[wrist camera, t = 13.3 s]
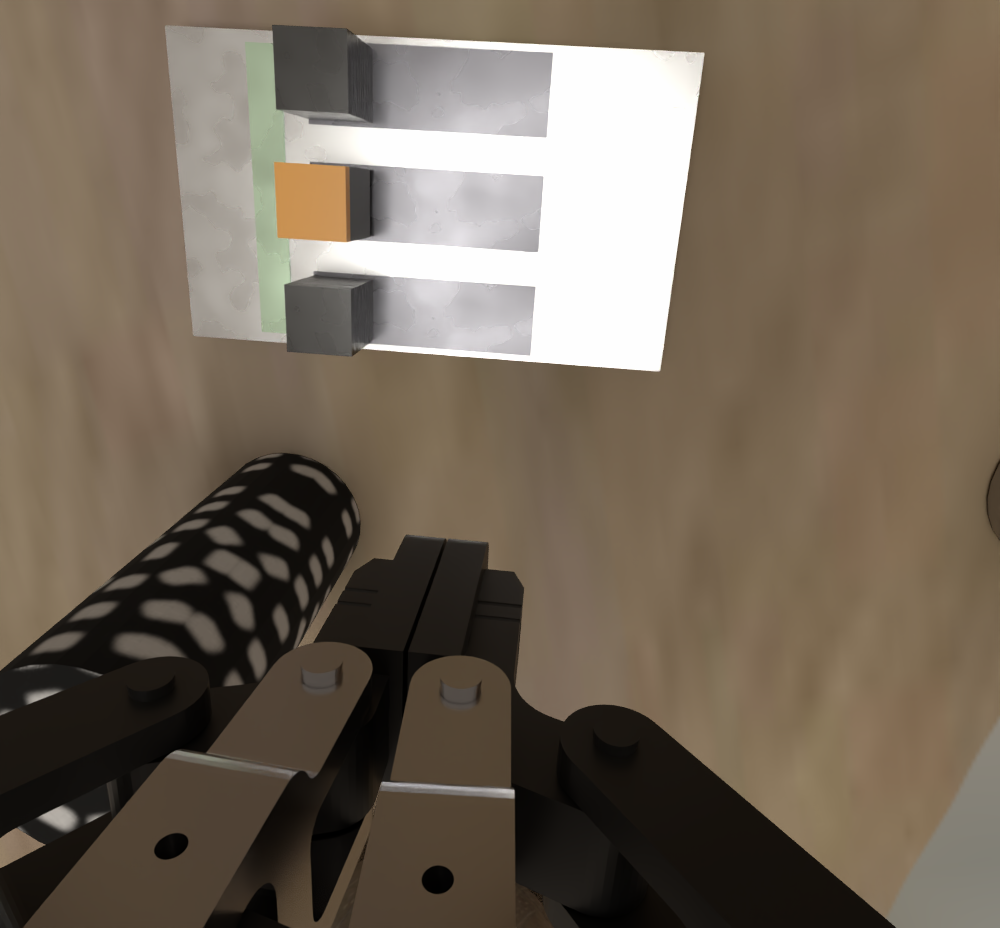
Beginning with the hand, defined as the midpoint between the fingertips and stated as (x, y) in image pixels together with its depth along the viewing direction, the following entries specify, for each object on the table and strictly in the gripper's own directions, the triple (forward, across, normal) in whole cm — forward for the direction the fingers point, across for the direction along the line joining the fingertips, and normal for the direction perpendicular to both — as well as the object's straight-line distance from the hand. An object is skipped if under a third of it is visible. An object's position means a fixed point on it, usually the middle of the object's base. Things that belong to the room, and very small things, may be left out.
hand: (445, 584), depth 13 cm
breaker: (+24, +9, -6) cm, 26 cm away
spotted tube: (+27, +13, +12) cm, 32 cm away
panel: (+26, +5, -6) cm, 27 cm away
